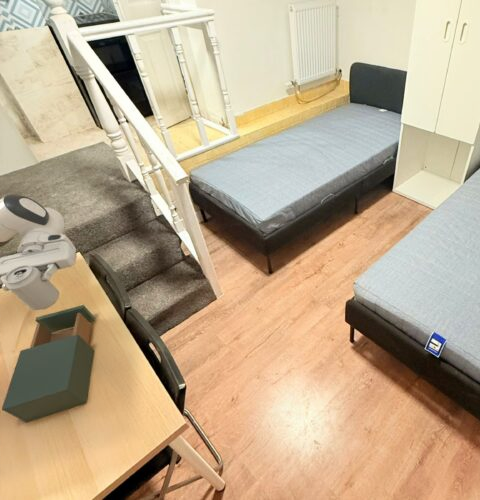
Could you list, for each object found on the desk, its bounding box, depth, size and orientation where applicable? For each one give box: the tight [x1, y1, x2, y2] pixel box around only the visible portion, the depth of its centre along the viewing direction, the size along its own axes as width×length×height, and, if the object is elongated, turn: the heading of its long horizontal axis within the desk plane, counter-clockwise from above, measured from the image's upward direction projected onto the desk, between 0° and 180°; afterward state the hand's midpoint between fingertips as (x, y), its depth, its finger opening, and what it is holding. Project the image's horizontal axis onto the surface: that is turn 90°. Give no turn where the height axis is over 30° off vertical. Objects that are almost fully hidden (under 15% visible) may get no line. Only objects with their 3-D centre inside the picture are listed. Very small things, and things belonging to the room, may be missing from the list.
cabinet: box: [1, 335, 95, 423], centre depth 85 cm, size 16×14×9 cm
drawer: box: [29, 304, 96, 348], centre depth 94 cm, size 16×12×7 cm
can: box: [4, 265, 61, 311], centre depth 90 cm, size 8×8×12 cm
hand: (26, 284), depth 87 cm, fingers closed on can, 7 cm apart
